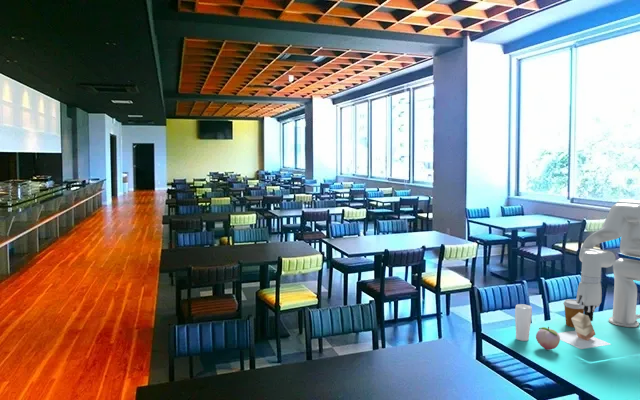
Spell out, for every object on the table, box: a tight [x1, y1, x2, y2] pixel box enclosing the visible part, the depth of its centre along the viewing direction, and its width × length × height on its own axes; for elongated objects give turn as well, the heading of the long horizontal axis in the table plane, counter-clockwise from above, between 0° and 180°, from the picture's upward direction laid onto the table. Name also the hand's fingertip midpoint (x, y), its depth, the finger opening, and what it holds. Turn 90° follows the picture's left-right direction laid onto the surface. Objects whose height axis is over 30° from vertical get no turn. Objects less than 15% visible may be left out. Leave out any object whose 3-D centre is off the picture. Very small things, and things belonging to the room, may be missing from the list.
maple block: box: [571, 312, 596, 341], centre depth 222 cm, size 5×5×10 cm
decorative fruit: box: [535, 326, 561, 351], centre depth 211 cm, size 9×8×10 cm
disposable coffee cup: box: [563, 298, 584, 329], centre depth 239 cm, size 10×10×12 cm
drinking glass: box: [514, 303, 533, 342], centre depth 222 cm, size 7×7×15 cm
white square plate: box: [557, 330, 612, 350], centre depth 222 cm, size 17×18×1 cm
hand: (588, 320), depth 222 cm, fingers closed
